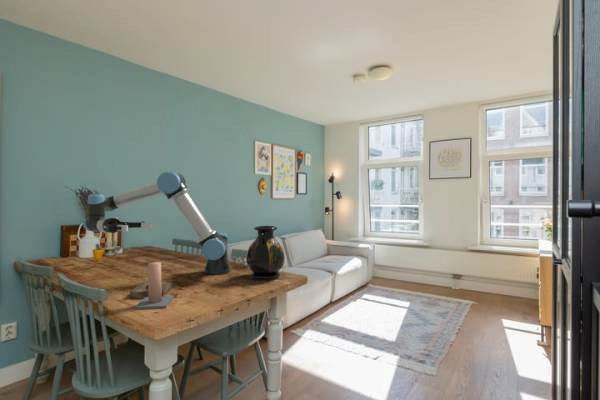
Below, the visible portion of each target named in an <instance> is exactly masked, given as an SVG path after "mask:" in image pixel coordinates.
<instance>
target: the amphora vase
mask: <svg viewBox="0 0 600 400" xmlns="http://www.w3.org/2000/svg"><path fill="white" fill-rule="evenodd" d="M253 230H255V231H256V232H257V236H256V238H255V239H254V240H253V242H252V243H251V244H250V245H249V247H248V248H247V252H246V257H245V263H246V266H247V267H248V269H249V270H250V271H251V273H250V277H251V279H254V280H259V281H270V280H276V279H278V278H280V276H281V273H280V271H281V269H282V268H283V267H284V264H285V261H286V260H285V259H286V256H285V251H284V249H283V247H282V244H281V243H280V242H279V241H278V240H277V239H276V238H275V236H274V235H275V234H274V232H275V231H276V230H278V227H277V226H274V225H258V226H254V227H253Z"/></svg>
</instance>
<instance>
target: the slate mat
mask: <svg viewBox="0 0 600 400" xmlns="http://www.w3.org/2000/svg"><path fill="white" fill-rule="evenodd" d="M174 298H175V296H174V295H173V296H172V295H171V296H170V295H169V296H168V295H167V296H166V295H165V296H164V297H162V301H161V302H158V303H149V297H145V298H142V300H141V301H140V302H138V303H137V305H135V306H134V310H153V309H154V310H155V309H156V310H157V309H159V310H160V309H167V306H168V307H169V305H170V304H171V303H172V302H173V300H174Z"/></svg>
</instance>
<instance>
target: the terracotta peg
mask: <svg viewBox="0 0 600 400" xmlns="http://www.w3.org/2000/svg"><path fill="white" fill-rule="evenodd" d="M147 269H148V271H147V273H148V275H147V278H148V279H147V280H148V281H147V283H148V292H149V303H158V302H161V301H162V285H161V282H162V262H160V261H153V262H149V263H147Z"/></svg>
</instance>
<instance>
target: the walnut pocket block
mask: <svg viewBox="0 0 600 400" xmlns="http://www.w3.org/2000/svg"><path fill="white" fill-rule="evenodd" d="M161 285H162V297H166V295H167V294H168V293H169V292H170V291H171V290H172V289H173V282H172V281H167V282H166V281H164V282H163V281H161ZM145 297H149V292H148V282H141V283H140V284H139V285H137V286H136V287H134V288H133V289H132V290H131V291H130V292H129V299H144V298H145Z"/></svg>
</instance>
